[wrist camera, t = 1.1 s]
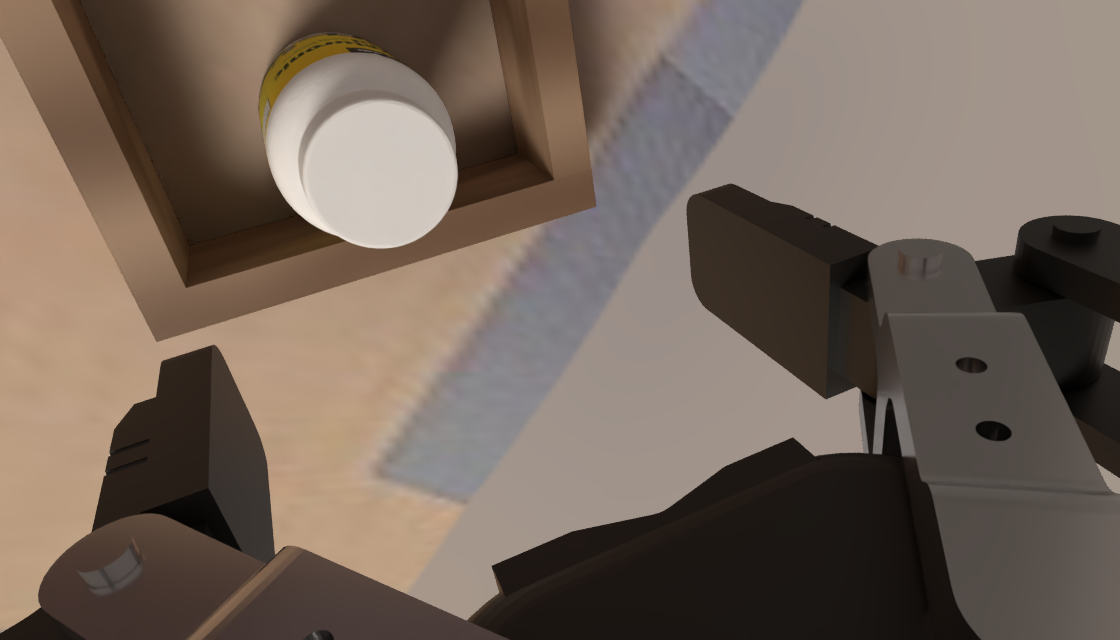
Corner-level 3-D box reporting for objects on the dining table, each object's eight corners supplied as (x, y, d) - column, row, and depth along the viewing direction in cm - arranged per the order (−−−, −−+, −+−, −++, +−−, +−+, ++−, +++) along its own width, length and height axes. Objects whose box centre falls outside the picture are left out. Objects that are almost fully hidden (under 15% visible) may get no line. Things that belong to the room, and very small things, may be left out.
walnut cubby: (-11, -65, 22) (-52, -65, 18) (503, -150, 26) (546, -163, 22) (163, 293, 28) (156, 341, 24) (557, 178, 32) (596, 206, 28)
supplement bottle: (404, 27, 27) (484, 66, 19) (414, 174, 29) (488, 264, 21) (244, 29, 25) (256, 74, 17) (268, 186, 28) (289, 290, 19)
